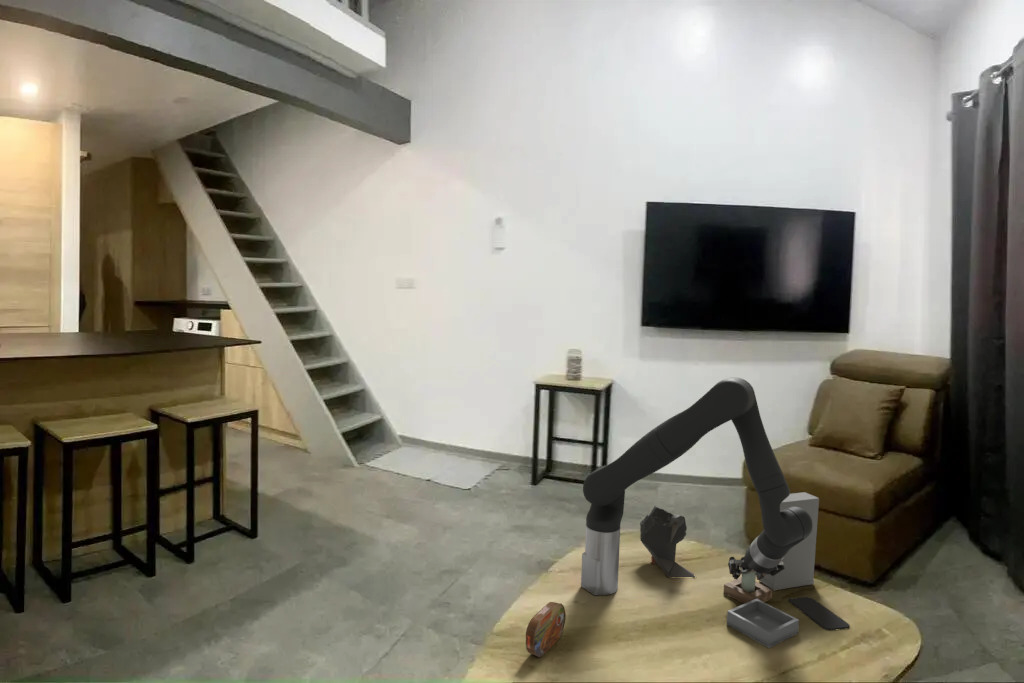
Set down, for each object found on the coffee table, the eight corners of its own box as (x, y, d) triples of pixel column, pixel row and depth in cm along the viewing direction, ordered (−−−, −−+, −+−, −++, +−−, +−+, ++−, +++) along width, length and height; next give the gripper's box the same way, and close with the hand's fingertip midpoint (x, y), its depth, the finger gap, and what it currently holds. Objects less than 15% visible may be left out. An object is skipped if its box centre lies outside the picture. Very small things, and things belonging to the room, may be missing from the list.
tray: (769, 648, 141) (769, 633, 141) (726, 624, 151) (727, 610, 151) (798, 633, 148) (799, 619, 147) (755, 611, 157) (756, 598, 157)
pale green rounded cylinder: (749, 600, 163) (751, 564, 162) (737, 594, 166) (739, 559, 165) (757, 597, 165) (759, 561, 164) (745, 591, 168) (748, 556, 167)
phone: (810, 596, 165) (852, 626, 151) (810, 599, 166) (852, 629, 151) (786, 598, 164) (826, 629, 149) (785, 601, 164) (825, 632, 149)
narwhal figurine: (679, 554, 190) (682, 497, 189) (696, 577, 175) (700, 516, 173) (633, 554, 189) (636, 497, 188) (647, 578, 174) (650, 516, 173)
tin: (534, 664, 134) (535, 627, 133) (522, 659, 135) (523, 622, 134) (566, 632, 146) (567, 598, 145) (554, 628, 148) (555, 594, 147)
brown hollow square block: (751, 607, 159) (752, 598, 159) (723, 593, 167) (724, 584, 166) (771, 598, 164) (772, 589, 164) (743, 585, 171) (744, 576, 171)
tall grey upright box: (797, 574, 178) (803, 491, 176) (813, 584, 173) (820, 498, 170) (758, 581, 174) (763, 495, 172) (773, 591, 168) (779, 502, 166)
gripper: (790, 539, 156) (769, 563, 169) (733, 537, 156) (716, 561, 169) (798, 568, 151) (776, 591, 164) (739, 566, 152) (721, 589, 165)
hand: (746, 575), depth 167 cm, fingers open, 5 cm apart
